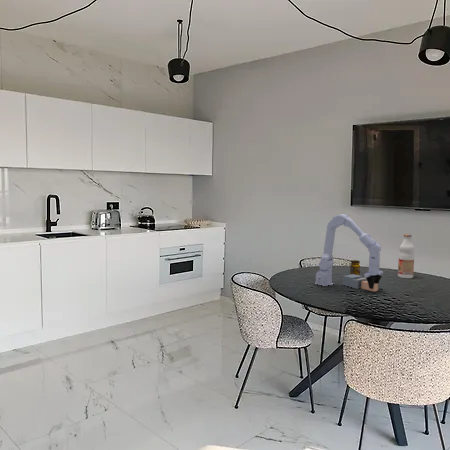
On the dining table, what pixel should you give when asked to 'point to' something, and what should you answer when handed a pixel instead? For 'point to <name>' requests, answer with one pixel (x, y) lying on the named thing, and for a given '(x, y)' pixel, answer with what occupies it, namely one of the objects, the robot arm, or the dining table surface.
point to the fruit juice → (406, 258)
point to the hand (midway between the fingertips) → (373, 288)
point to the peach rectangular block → (365, 286)
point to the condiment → (355, 267)
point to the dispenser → (353, 280)
